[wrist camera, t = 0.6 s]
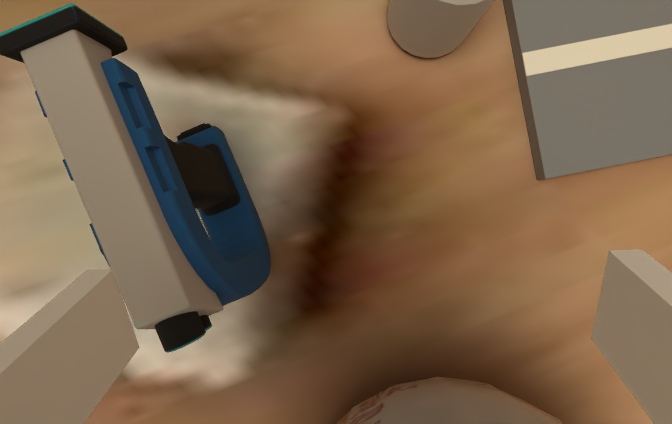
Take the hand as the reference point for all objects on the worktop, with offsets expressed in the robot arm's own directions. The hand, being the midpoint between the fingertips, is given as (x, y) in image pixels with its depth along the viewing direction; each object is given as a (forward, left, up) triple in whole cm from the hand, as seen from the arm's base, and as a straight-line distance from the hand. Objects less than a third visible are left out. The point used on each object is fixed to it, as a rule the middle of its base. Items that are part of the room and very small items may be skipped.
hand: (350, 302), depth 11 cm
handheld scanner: (-6, -10, -26) cm, 28 cm away
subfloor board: (-14, +26, -26) cm, 39 cm away
